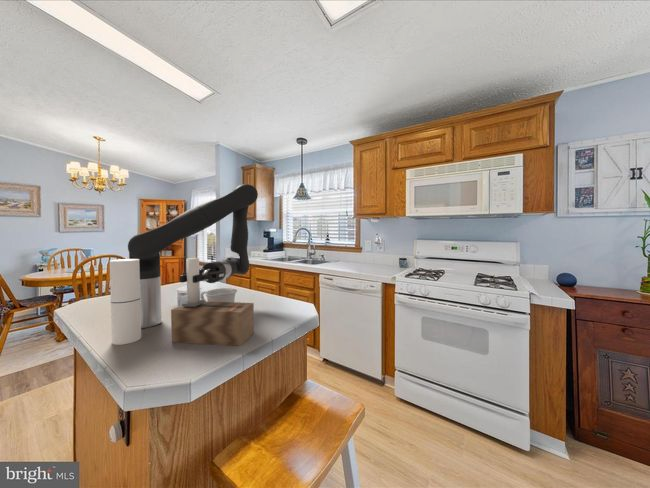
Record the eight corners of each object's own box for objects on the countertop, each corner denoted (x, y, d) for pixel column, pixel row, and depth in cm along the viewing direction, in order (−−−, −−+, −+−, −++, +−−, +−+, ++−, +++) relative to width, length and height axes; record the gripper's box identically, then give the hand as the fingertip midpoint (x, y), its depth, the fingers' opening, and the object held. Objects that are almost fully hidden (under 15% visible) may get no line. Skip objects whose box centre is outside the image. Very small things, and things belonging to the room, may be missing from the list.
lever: (182, 306, 78) (181, 259, 77) (192, 301, 83) (191, 257, 82) (195, 306, 77) (194, 259, 77) (204, 302, 82) (203, 257, 82)
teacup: (210, 310, 108) (209, 287, 107) (242, 311, 106) (242, 288, 105) (191, 319, 96) (191, 294, 95) (227, 321, 94) (227, 295, 93)
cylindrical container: (117, 346, 73) (115, 261, 72) (108, 341, 76) (105, 260, 75) (145, 338, 79) (143, 259, 78) (135, 333, 82) (133, 258, 82)
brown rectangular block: (171, 342, 76) (171, 309, 76) (192, 329, 86) (191, 300, 86) (240, 345, 74) (240, 311, 73) (253, 332, 84) (253, 302, 83)
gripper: (199, 261, 95) (165, 267, 78) (234, 261, 93) (208, 267, 76) (199, 280, 95) (166, 290, 78) (235, 281, 93) (209, 292, 76)
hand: (187, 279), depth 77 cm, fingers closed on lever, 3 cm apart
